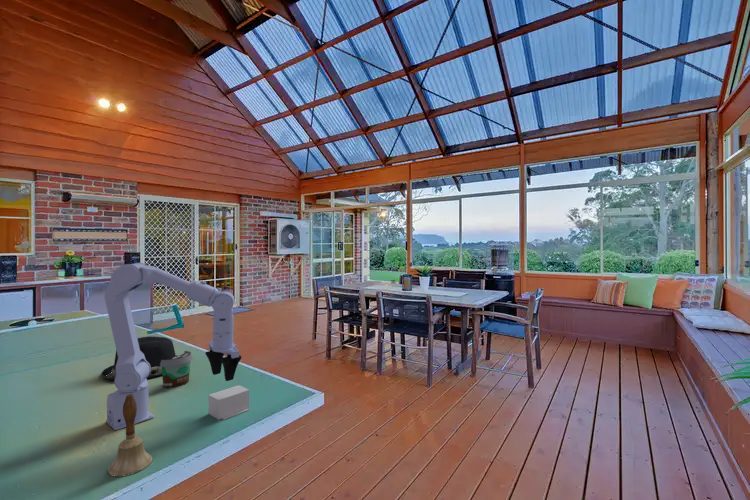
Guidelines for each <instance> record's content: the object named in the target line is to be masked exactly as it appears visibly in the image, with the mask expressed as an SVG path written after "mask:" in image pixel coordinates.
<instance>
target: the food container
mask: <svg viewBox="0 0 750 500" xmlns="http://www.w3.org/2000/svg"><path fill="white" fill-rule="evenodd" d="M193 359H194V358H193V354H192V352H191V351H188V350H184V352H183V353H182V354H179V355H178V356H174V357H172V358H171V359H169V360H161V363H160V366H162V375H161V376H162V378H161V379H162V387H163V388H164V389H172V388H173V389H174V388H178V387H182V386H184V385H186V384H188V383H189V382H190V371H191V361H192V360H193Z"/></svg>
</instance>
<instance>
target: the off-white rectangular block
mask: <svg viewBox="0 0 750 500" xmlns="http://www.w3.org/2000/svg"><path fill="white" fill-rule="evenodd" d="M246 408H247V409H250V389H248V388H246V387H244V386H243V385H235V386H231V387H229V388H226V389H222V390H219V391H217V392H213V393H210V394H208V415H210V416H212V417H213V418H214V419H216V420H218V421H219V420H223V419H222V418H223V417H226V416H228V415H231V414H233V413H236V412H239V411H241V410H244V409H246Z"/></svg>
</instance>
